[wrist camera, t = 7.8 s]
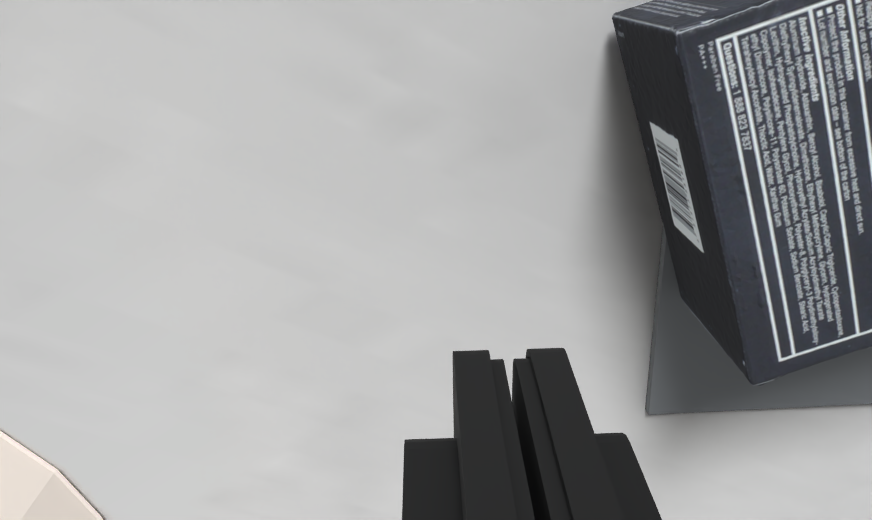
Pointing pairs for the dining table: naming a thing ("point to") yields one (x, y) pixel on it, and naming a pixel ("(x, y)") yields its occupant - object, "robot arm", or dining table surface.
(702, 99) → the small box
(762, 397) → the mat
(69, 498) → the kettle
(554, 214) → the dining table surface
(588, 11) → the dining table surface
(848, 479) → the dining table surface
